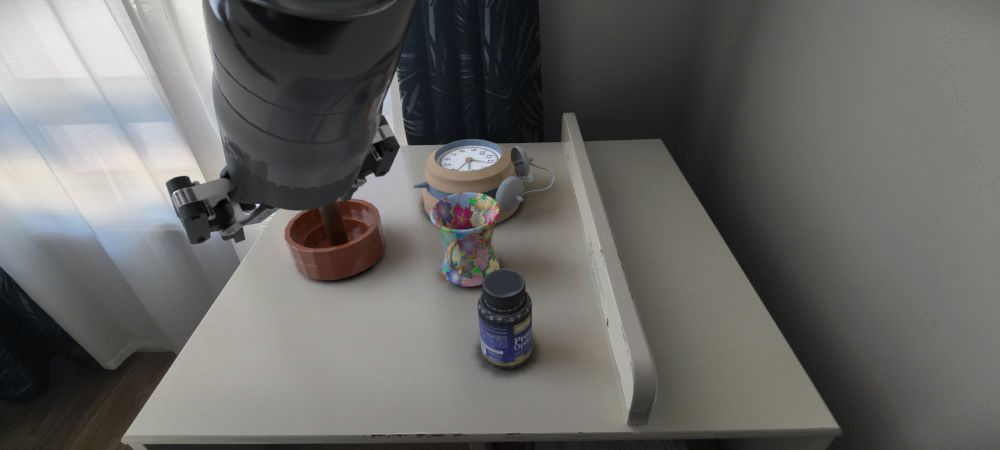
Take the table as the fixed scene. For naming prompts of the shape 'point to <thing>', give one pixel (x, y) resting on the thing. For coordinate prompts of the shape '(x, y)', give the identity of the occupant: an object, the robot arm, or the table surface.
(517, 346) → the pill bottle
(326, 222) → the stick
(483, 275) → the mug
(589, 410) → the table surface
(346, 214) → the bowl
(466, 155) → the alarm clock
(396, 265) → the table surface
